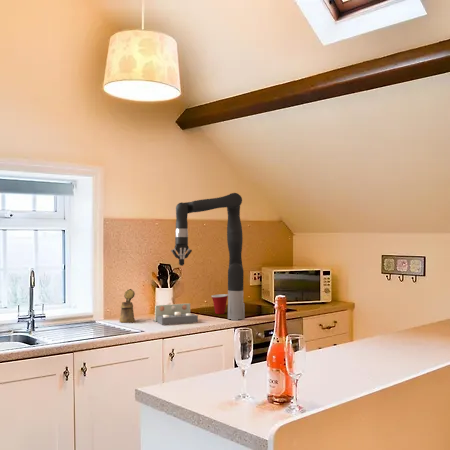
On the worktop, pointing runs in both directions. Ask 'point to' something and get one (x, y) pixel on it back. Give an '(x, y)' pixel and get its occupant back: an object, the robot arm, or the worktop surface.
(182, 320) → the button board
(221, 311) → the plastic cup
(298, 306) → the worktop surface
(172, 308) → the pattern card
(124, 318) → the brown tapered piece
